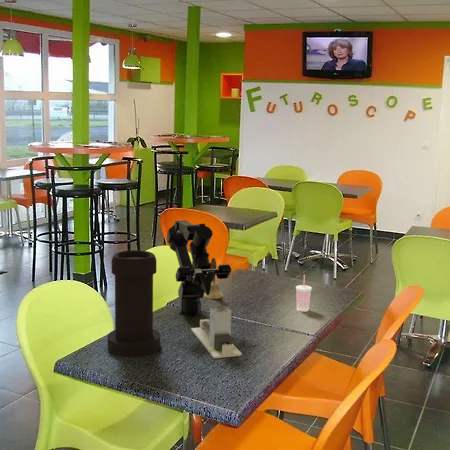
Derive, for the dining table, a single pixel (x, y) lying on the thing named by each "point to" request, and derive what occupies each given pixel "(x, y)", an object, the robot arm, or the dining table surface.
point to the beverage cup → (303, 296)
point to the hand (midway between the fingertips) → (208, 294)
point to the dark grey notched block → (222, 339)
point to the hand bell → (214, 285)
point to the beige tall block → (219, 323)
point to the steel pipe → (209, 331)
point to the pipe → (133, 304)
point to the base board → (204, 338)
